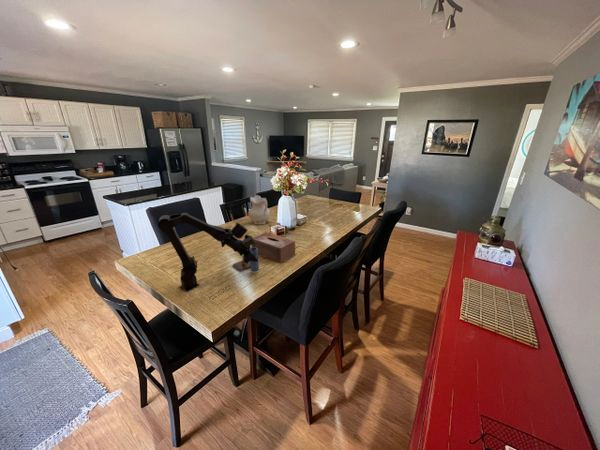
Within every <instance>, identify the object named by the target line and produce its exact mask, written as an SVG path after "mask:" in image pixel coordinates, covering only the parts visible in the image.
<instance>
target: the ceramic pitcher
mask: <svg viewBox="0 0 600 450" xmlns="http://www.w3.org/2000/svg"><path fill="white" fill-rule="evenodd" d="M249 200H250V203H251V208H250V209H249V210H248V213H247V214H248V217H249V219H250V220H251V221H252V222H253V224H254V225H265V224H267V220H269V218H270V215H271V211H270V209H269V208H268V200H267V197H261V196H260V195H258V194H256V195H254V197H252V196H250V198H249Z"/></svg>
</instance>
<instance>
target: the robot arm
mask: <svg viewBox="0 0 600 450" xmlns="http://www.w3.org/2000/svg"><path fill="white" fill-rule="evenodd" d="M183 224H186V225H189V226H191V227H193V228H195V229H197V230H199V231H202V232H204V233H206V234H208V235H209V236H210V237H212V239H214V240H216V241H217V242H220V245H221V248H224V247H225V246H227V247H229V248H230V249H231V250H233V252H234V253H237V254H239V256H240V257H242V259H243V261H244V262H245V263H246V264H247V263H248V262H249V261H255V262H257V261H258V262H259V258H258V259H257V258H256V257H255V256H254V253H253V251H251V250H249V249H250V248H251V246H252V244H254V243H255V241H254V239H253V236H252V235H251V234H250V235H249V234H247V232H248V228H247V227H246V226H245V225H244V224H241V223H239V222H236V224H234V226H233V227H232V228H225V227H222V226H218V225H213V224H209V223H207V222H206V221H203V220H201V219H199V218H197V217H195V216H193V215H191V214H189V213H188V212H182V213H176V214H175V213H174V214H170V215H168V214H163V215H161V216H160V217H159V219H158V222H157V228H158V230H160V231H161V232H162V234H163V235H165V236H166V237H167V238H168V240H169V241H170V244H171V245H172V247H173V249H174V251H175V252H176V254H177V256H178V258H179V259H180V261H181V266H182V268H181V270H180V284H181V285H180V286H179V287H180V289H183V290H184V291H186V292H189V291H191V290H193V289H194V288H197V287H198V286H199V283H198V281H197V276H196V274H197V272H198V261H197V260H196V259H195V256H194V255H193V256H191V255H189V253H188V251H187V249H186V248H185V246H184V244H183V242H182V240H181V238H180V236H179V234H178V232H177V230H176V227H178V226H181V225H183ZM243 236H244V238H243ZM242 238H243V239H242ZM241 239H242V240H241Z"/></svg>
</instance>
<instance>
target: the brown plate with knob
mask: <svg viewBox="0 0 600 450" xmlns="http://www.w3.org/2000/svg"><path fill="white" fill-rule="evenodd" d="M232 267H233V268H235V269H236V270H237V271H239V272H244V271H245V270H248V269H251V267H250V261H249V262H248V263H247V264H246V263H245V262H244V261H243V258H242V259H241V260H240V261H237V262H235V263H232Z"/></svg>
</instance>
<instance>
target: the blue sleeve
mask: <svg viewBox="0 0 600 450" xmlns="http://www.w3.org/2000/svg"><path fill="white" fill-rule="evenodd" d="M249 250H251V251H253V253H254V256H255V257H256V258H257V259H258V261H257V262H255V261H250V267H251V268H250V272H253V273H254V272H259V271H260V265H259V264H260V263H259V254H258V248H256V247H252V246H251V247H250V249H249Z"/></svg>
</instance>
